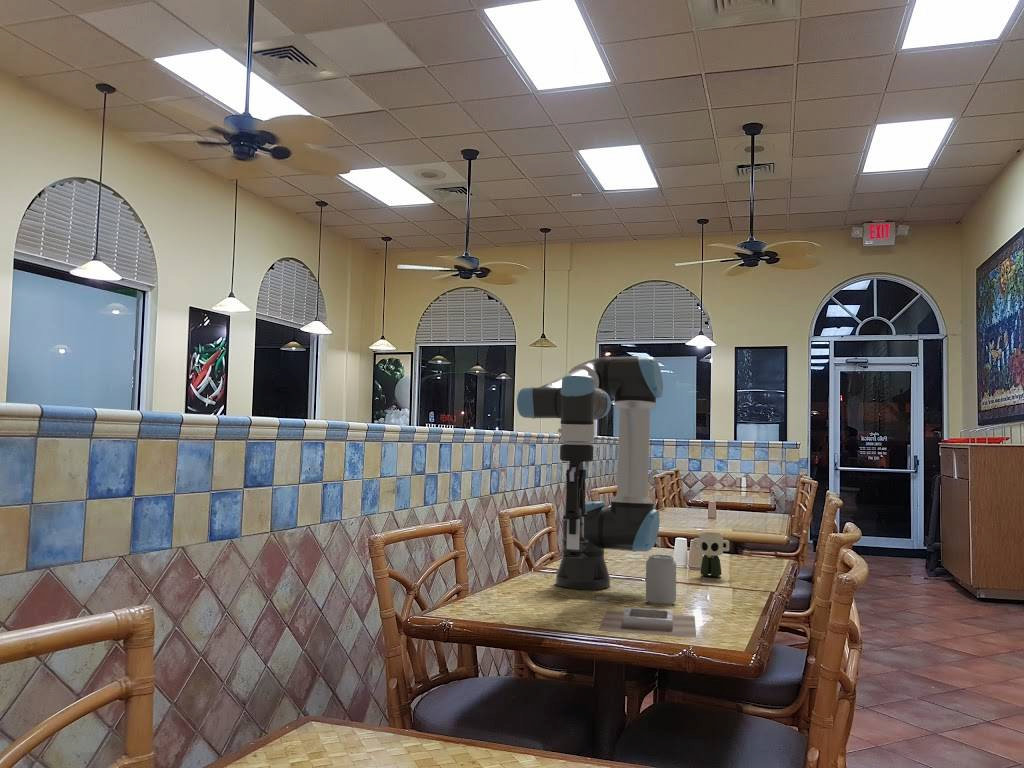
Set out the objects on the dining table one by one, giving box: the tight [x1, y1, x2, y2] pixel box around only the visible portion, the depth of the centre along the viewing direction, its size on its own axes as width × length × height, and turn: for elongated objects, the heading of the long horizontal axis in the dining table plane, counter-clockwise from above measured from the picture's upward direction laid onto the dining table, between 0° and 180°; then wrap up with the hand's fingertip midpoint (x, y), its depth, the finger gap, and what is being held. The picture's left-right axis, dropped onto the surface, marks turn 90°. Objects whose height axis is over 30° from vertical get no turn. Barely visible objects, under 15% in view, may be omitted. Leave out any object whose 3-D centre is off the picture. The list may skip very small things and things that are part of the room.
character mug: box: [692, 531, 730, 578], centre depth 244 cm, size 11×7×13 cm, turn 68°
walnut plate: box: [598, 610, 697, 638], centre depth 175 cm, size 20×20×1 cm
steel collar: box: [623, 606, 674, 630], centre depth 175 cm, size 10×10×2 cm
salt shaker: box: [561, 508, 588, 558], centre depth 179 cm, size 6×6×12 cm
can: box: [645, 554, 677, 607], centre depth 202 cm, size 8×8×12 cm
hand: (575, 547), depth 179 cm, fingers closed on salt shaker, 6 cm apart
